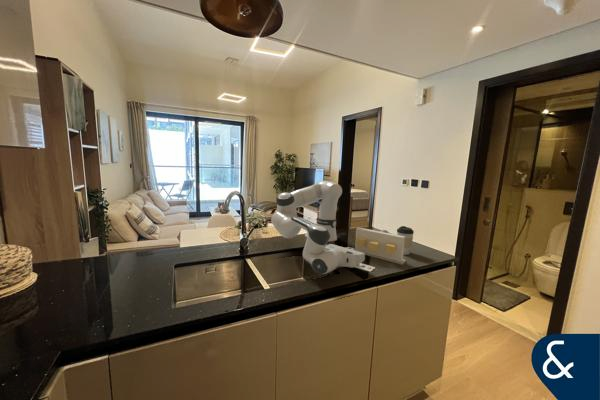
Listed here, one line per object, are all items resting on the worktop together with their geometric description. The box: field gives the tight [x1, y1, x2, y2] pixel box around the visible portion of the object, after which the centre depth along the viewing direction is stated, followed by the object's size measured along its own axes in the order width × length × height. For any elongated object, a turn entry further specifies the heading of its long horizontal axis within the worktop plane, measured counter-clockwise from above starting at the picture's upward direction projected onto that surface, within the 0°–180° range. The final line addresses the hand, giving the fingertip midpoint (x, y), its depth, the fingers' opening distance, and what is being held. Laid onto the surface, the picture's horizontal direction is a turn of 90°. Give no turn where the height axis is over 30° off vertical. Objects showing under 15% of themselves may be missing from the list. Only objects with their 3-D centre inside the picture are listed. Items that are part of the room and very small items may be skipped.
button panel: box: [354, 227, 406, 266], centre depth 136 cm, size 28×5×14 cm, turn 51°
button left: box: [357, 237, 367, 247], centre depth 139 cm, size 4×7×4 cm, turn 141°
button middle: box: [369, 241, 380, 252], centre depth 132 cm, size 4×7×4 cm, turn 141°
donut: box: [378, 229, 390, 245], centre depth 155 cm, size 10×4×10 cm, turn 120°
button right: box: [386, 243, 396, 254], centre depth 129 cm, size 4×7×4 cm, turn 141°
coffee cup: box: [396, 225, 415, 256], centre depth 142 cm, size 9×9×15 cm
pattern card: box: [354, 262, 376, 273], centre depth 122 cm, size 10×6×1 cm, turn 51°
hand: (351, 249), depth 128 cm, fingers closed
